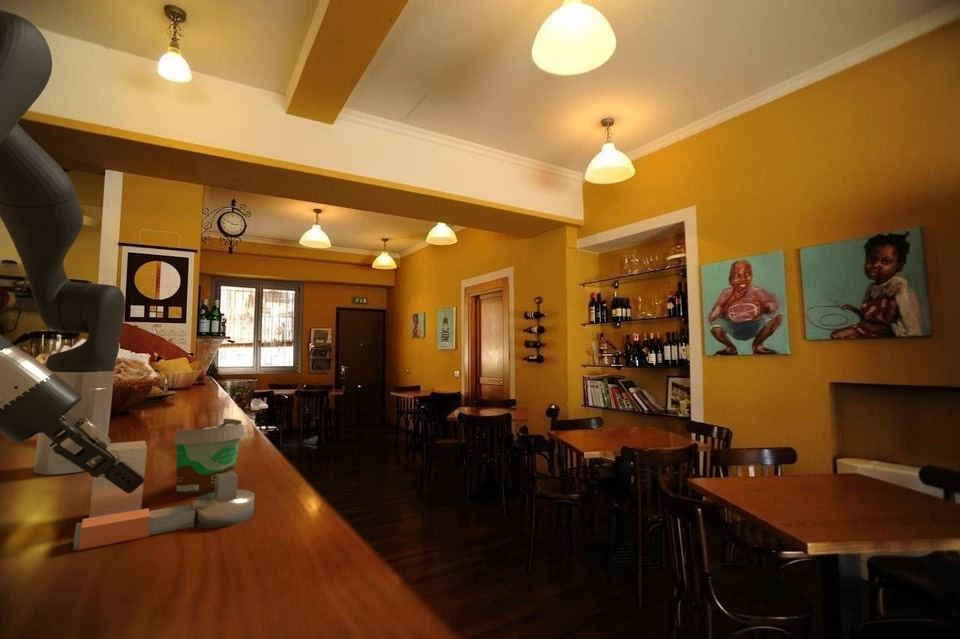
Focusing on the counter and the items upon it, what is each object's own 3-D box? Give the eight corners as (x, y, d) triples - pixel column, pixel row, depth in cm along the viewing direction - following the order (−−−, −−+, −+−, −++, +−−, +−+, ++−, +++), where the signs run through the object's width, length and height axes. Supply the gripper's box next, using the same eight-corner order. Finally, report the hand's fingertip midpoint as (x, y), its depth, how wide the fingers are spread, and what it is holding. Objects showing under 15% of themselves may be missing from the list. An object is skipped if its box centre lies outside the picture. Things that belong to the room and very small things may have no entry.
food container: (210, 501, 62) (215, 431, 63) (168, 499, 63) (175, 430, 63) (255, 477, 75) (260, 419, 76) (221, 476, 75) (226, 418, 76)
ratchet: (75, 535, 50) (80, 486, 51) (246, 504, 62) (249, 465, 62) (71, 558, 45) (77, 503, 45) (259, 519, 56) (262, 476, 57)
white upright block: (89, 514, 56) (97, 444, 57) (138, 506, 59) (145, 440, 60) (88, 527, 52) (96, 451, 53) (140, 518, 56) (147, 447, 56)
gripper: (44, 374, 47) (168, 470, 54) (57, 368, 58) (159, 449, 65) (-37, 427, 43) (108, 523, 50) (-7, 410, 54) (109, 491, 61)
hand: (136, 481), depth 57 cm, fingers closed on white upright block, 5 cm apart
